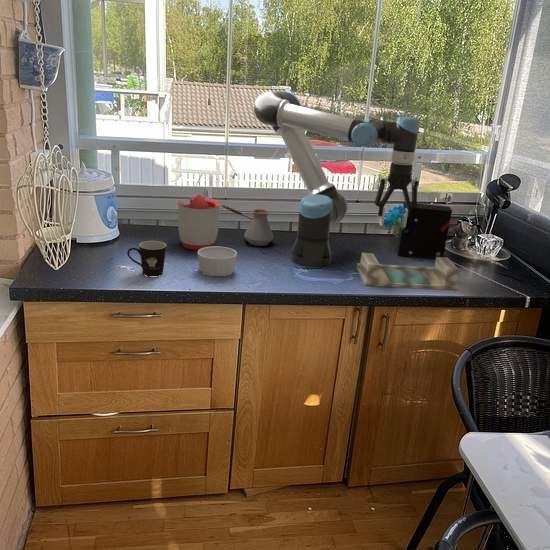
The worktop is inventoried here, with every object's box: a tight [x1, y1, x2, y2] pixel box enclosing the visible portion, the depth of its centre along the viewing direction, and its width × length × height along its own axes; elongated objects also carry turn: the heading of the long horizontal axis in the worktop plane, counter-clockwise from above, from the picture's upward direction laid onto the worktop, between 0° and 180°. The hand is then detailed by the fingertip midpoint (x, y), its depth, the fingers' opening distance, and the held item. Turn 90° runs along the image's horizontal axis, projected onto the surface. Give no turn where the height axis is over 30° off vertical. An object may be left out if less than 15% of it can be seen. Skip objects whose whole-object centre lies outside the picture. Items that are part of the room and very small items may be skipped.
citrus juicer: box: [177, 194, 221, 251], centre depth 213 cm, size 16×17×20 cm
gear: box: [382, 204, 406, 230], centre depth 207 cm, size 11×6×10 cm
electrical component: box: [395, 201, 453, 260], centre depth 223 cm, size 18×10×20 cm, turn 84°
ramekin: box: [197, 245, 238, 277], centre depth 192 cm, size 13×13×7 cm
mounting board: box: [355, 252, 460, 291], centre depth 198 cm, size 32×16×7 cm, turn 93°
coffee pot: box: [219, 204, 274, 247], centre depth 222 cm, size 21×12×15 cm, turn 99°
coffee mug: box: [127, 240, 167, 276], centre depth 185 cm, size 12×9×10 cm
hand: (392, 225), depth 207 cm, fingers closed on gear, 8 cm apart
